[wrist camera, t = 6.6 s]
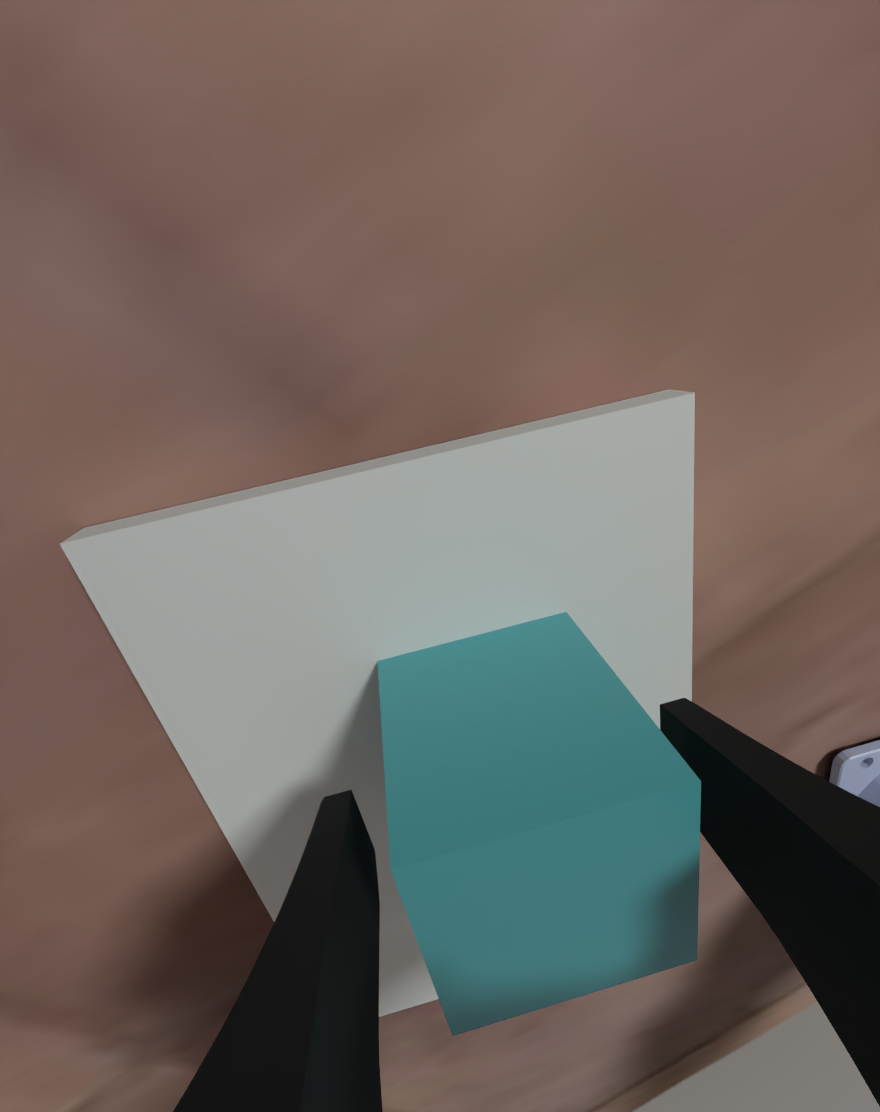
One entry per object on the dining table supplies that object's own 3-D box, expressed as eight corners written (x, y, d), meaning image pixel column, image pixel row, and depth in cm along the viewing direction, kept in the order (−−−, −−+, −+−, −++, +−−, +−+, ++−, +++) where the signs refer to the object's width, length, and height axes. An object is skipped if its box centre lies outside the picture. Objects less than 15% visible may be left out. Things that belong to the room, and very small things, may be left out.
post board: (668, 389, 12) (880, 416, 7) (674, 895, 20) (774, 1069, 15) (84, 528, 11) (-127, 665, 6) (336, 998, 19) (329, 1215, 14)
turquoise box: (566, 611, 13) (700, 780, 8) (581, 753, 15) (696, 959, 10) (377, 661, 12) (390, 870, 7) (419, 798, 14) (452, 1035, 9)
